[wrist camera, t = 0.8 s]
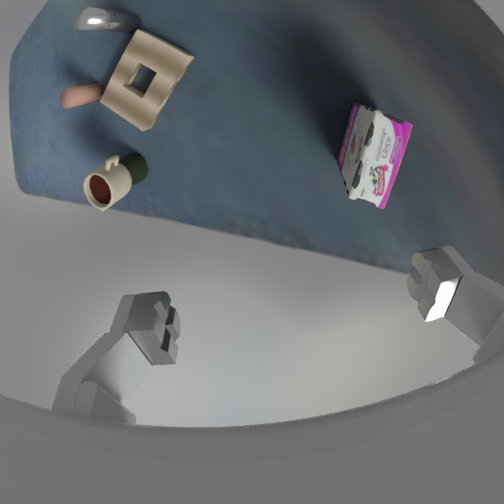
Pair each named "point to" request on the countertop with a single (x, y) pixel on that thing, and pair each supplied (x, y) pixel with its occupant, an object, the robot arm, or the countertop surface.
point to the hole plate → (168, 74)
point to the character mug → (113, 180)
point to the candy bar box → (372, 154)
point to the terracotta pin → (81, 95)
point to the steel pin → (106, 20)
